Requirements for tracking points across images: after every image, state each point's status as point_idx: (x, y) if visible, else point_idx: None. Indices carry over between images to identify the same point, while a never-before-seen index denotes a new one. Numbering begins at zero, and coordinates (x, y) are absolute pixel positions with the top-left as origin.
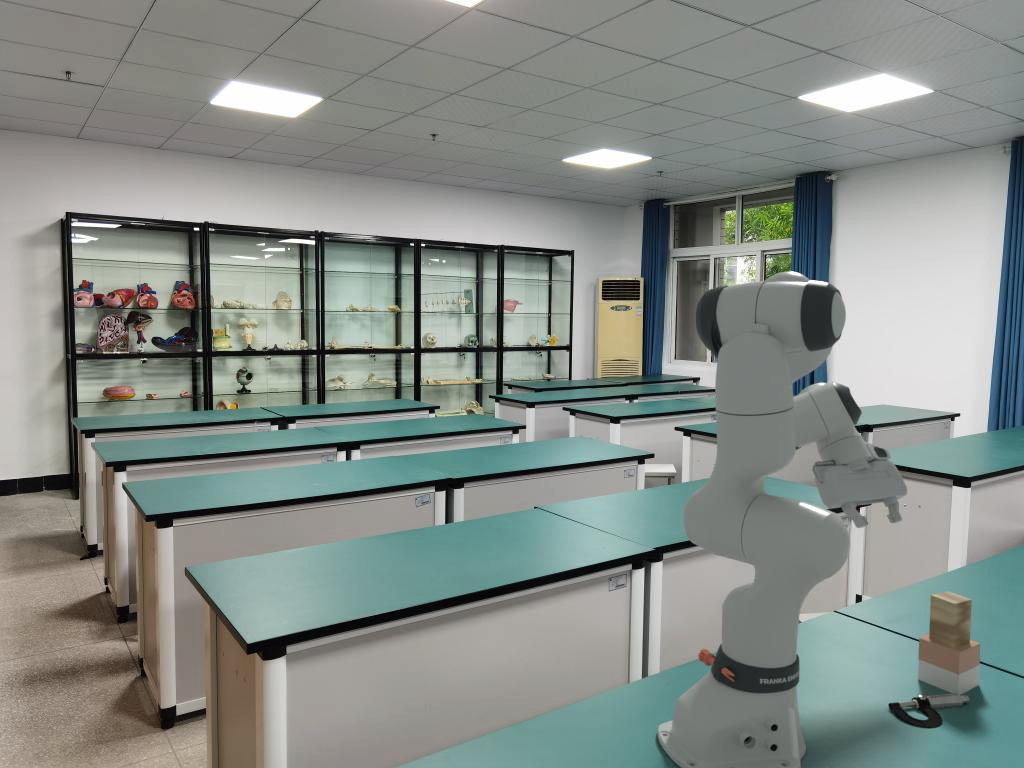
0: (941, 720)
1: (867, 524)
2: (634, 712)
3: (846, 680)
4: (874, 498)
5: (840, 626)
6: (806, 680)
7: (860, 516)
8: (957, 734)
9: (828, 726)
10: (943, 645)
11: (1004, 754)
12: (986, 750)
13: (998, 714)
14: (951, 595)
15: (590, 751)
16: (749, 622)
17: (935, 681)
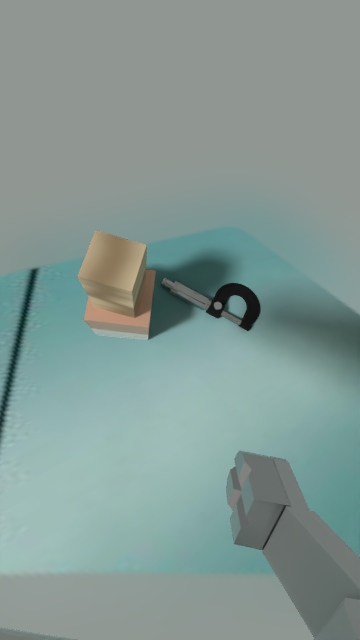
0: (227, 284)
1: (243, 452)
2: None
3: (225, 397)
4: (22, 631)
5: (43, 520)
6: (268, 430)
7: (301, 504)
8: (236, 267)
9: (331, 354)
10: (148, 293)
11: (235, 231)
12: (242, 243)
13: (162, 253)
14: (101, 262)
15: None
16: None
17: (150, 317)
